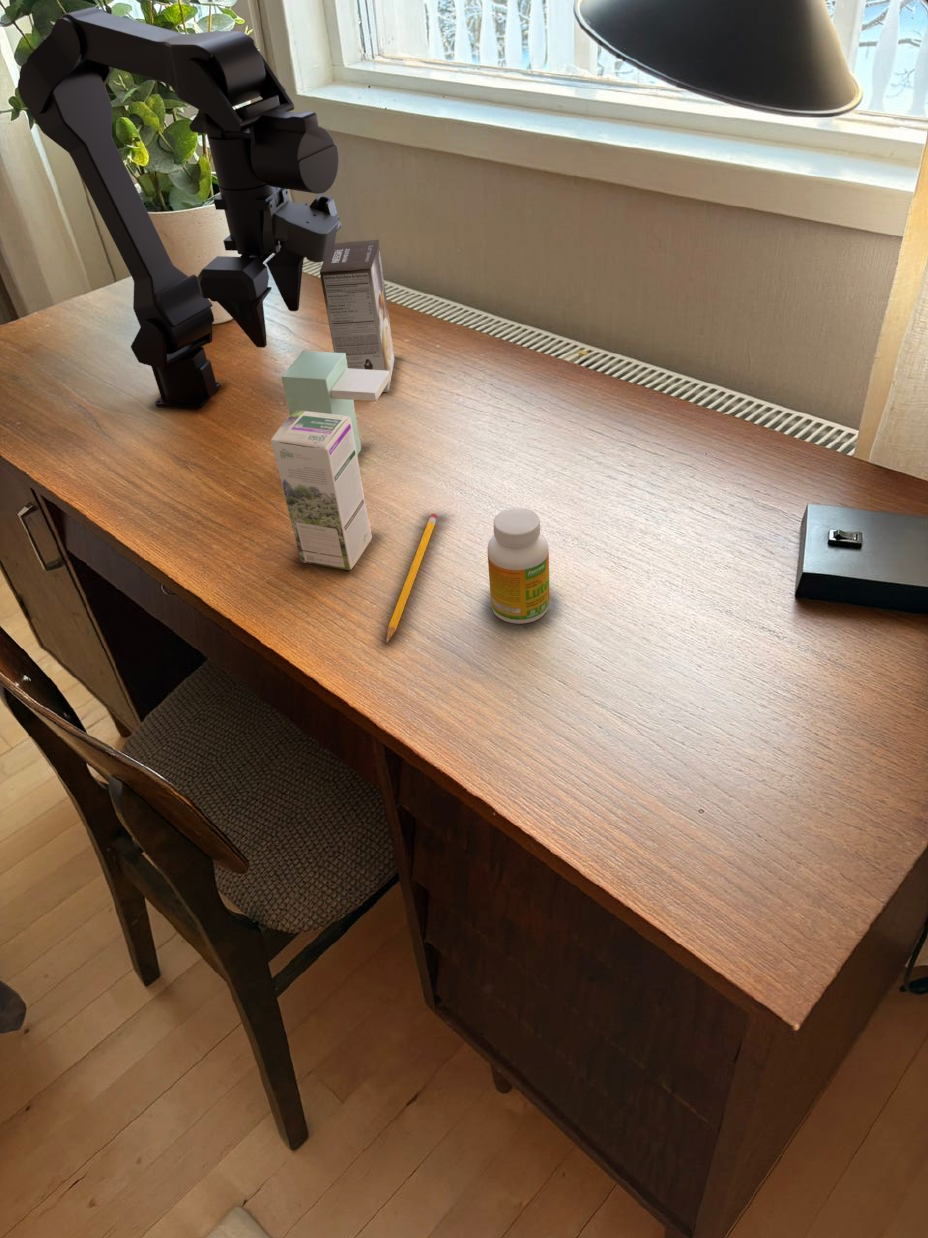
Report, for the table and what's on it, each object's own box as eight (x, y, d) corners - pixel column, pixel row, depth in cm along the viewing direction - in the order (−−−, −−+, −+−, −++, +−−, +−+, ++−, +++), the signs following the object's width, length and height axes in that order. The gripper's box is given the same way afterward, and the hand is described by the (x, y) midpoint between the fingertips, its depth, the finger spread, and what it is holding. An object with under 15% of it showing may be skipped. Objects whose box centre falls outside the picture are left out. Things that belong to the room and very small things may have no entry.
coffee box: (348, 362, 126) (328, 241, 116) (395, 359, 126) (379, 237, 115) (340, 395, 120) (318, 270, 109) (390, 392, 119) (373, 267, 109)
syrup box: (374, 538, 96) (352, 411, 87) (350, 573, 92) (325, 445, 83) (323, 530, 98) (297, 405, 88) (298, 565, 94) (267, 438, 84)
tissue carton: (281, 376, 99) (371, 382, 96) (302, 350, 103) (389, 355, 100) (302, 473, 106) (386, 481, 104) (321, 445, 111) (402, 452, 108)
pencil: (437, 519, 98) (437, 513, 97) (391, 645, 84) (390, 639, 84) (430, 518, 98) (429, 513, 98) (382, 644, 84) (381, 639, 84)
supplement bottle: (531, 632, 84) (529, 546, 78) (480, 614, 86) (473, 528, 80) (559, 597, 87) (559, 511, 81) (509, 581, 90) (505, 496, 83)
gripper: (284, 214, 86) (314, 371, 97) (353, 152, 100) (373, 296, 110) (176, 213, 89) (216, 365, 99) (256, 152, 102) (285, 292, 113)
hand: (278, 328), depth 105 cm, fingers open, 9 cm apart
